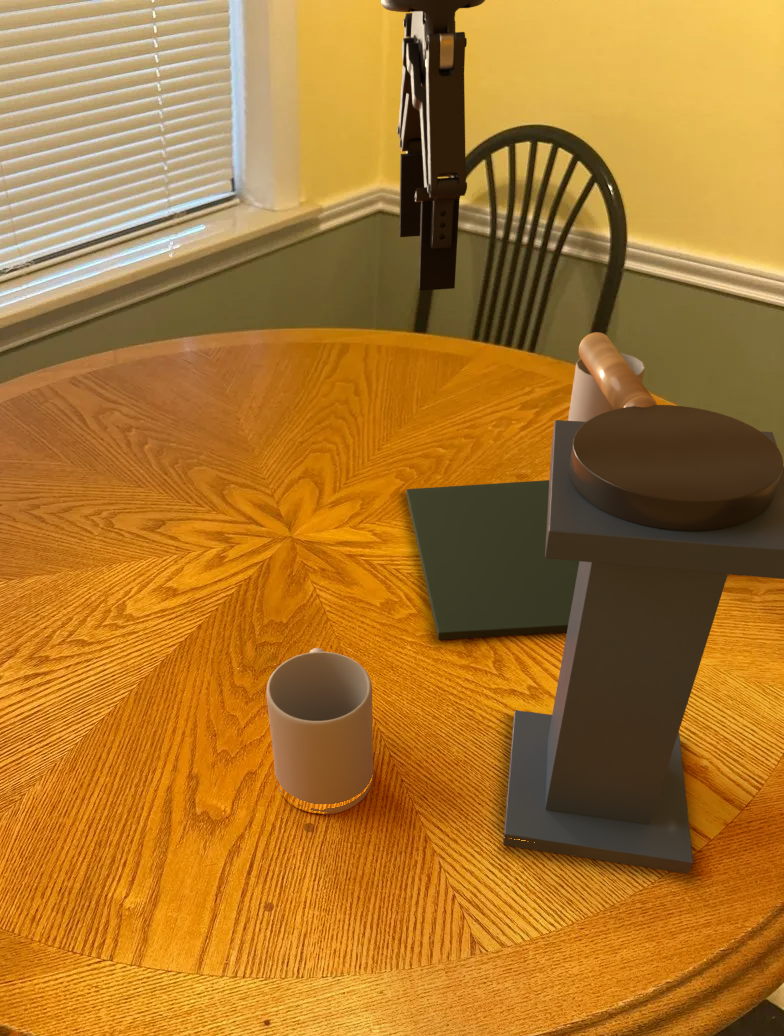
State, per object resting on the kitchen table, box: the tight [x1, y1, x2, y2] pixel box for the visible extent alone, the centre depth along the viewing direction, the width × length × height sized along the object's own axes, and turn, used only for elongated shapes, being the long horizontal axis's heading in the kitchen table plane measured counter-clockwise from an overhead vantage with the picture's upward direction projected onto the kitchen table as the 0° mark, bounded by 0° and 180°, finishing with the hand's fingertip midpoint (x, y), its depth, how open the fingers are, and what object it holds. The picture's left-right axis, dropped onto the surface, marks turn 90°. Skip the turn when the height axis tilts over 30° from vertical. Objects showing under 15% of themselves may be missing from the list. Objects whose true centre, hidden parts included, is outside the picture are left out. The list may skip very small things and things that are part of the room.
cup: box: [567, 352, 646, 422], centre depth 117 cm, size 8×8×10 cm
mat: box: [405, 479, 579, 641], centre depth 101 cm, size 28×18×1 cm, turn 2°
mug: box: [266, 647, 375, 815], centre depth 75 cm, size 12×8×11 cm
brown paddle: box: [569, 331, 784, 531], centre depth 59 cm, size 24×12×2 cm, turn 2°
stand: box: [502, 419, 784, 875], centre depth 65 cm, size 14×14×30 cm
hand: (424, 260), depth 74 cm, fingers open, 13 cm apart
